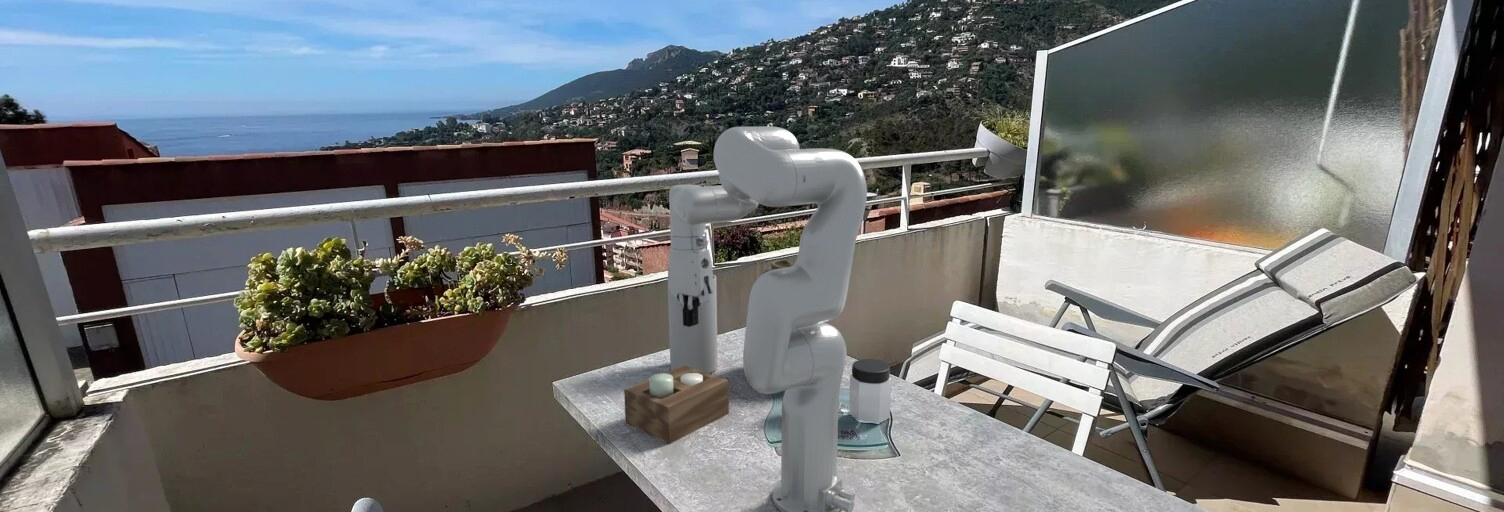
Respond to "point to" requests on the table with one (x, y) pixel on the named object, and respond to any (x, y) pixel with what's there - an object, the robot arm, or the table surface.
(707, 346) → the cylinder vase
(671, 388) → the sage button
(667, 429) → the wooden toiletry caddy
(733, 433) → the table surface
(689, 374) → the ivory button
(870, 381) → the jar
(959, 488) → the table surface
